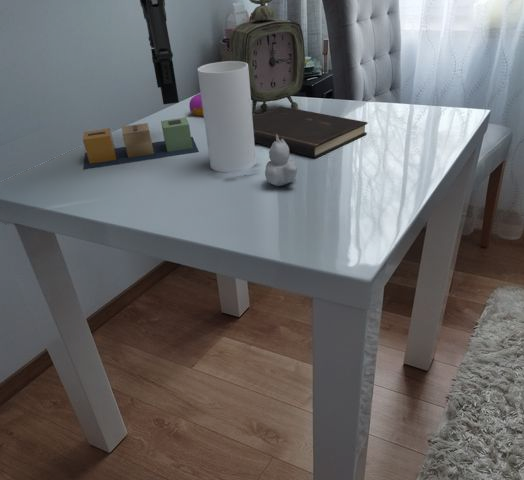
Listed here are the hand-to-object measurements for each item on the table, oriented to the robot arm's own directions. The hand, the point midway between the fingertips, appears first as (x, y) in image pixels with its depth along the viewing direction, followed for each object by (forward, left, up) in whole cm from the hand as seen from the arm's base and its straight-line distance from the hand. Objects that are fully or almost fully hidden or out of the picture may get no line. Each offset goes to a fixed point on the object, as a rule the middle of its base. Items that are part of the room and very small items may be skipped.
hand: (167, 94), depth 94 cm
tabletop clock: (+23, +16, -10) cm, 30 cm away
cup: (+9, -14, -10) cm, 19 cm away
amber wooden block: (-15, 0, -10) cm, 17 cm away
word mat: (-7, 0, -10) cm, 12 cm away
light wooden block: (-7, 0, -10) cm, 12 cm away
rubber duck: (+15, -26, -10) cm, 32 cm away
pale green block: (0, 0, -10) cm, 10 cm away
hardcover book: (+24, -3, -10) cm, 26 cm away
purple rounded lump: (+11, +22, -10) cm, 27 cm away
